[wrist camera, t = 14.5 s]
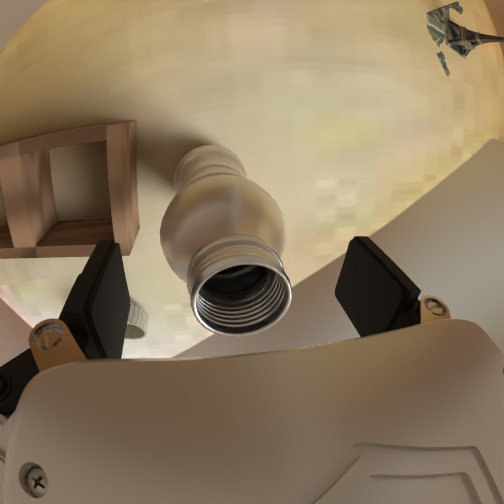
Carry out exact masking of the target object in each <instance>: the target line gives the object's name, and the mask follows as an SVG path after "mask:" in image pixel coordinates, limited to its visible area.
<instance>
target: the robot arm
mask: <svg viewBox="0 0 504 504" xmlns="http://www.w3.org/2000/svg"><path fill="white" fill-rule="evenodd" d="M420 292H421V290H420V289H419V288H418V287H417V286H416V285H415V284H414V283H413V282H412V281H411V280H410V278H409V277H408V276H407V275H406V274H405V273H404V272H403V271H402V270H401V269H400V268H399V267H398V266H397V265H396V264H395V263H394V262H393V261H392V260H391V259H390V258H389V257H388V256H387V255H386V254H385V253H384V252H383V251H382V250H381V249H380V248H379V247H378V246H377V245H376V244H375V243H374V242H373V241H372V240H371V239H370V238H369V237H367V236H355V237H354V238H353V240H351V241H350V242H349V245H348V249H347V252H346V256H345V259H344V263H343V266H342V269H341V272H340V276H339V279H338V282H337V285H336V288H335V296H336V298H337V299H338V301H339V303H340V304H341V306H342V307H343V309H344V311H345V312H346V314H347V315H348V317H349V319H350V320H351V322H352V323H353V325H354V327H355V328H356V330H357V331H358V333H359V335H360V336H361V337H360V338H355V339H349V340H344V341H338V342H333V343H327V344H321V345H315V346H308V347H301V348H294V349H287V350H278V351H269V352H260V353H251V354H239V355H226V356H211V357H191V358H141V359H121V356H122V350H123V344H124V338H125V332H126V327H127V321H128V316H129V311H130V296H129V291H128V287H127V282H126V277H125V272H124V266H123V261H122V255H121V249H120V244H119V243H115V241H114V239H101V240H99V241H98V243H97V245H96V246H95V248H94V250H93V252H92V254H91V256H90V258H89V260H88V262H87V263H86V265H85V267H84V269H83V271H82V273H81V274H79V276H78V277H77V279H76V281H75V283H74V285H73V287H72V289H71V292H70V294H69V296H68V298H67V300H66V303H65V305H64V307H63V309H62V312H61V314H60V316H59V319H47V320H44V321H42V322H40V323H39V324H37V325H36V326H35V327H34V328H33V329H32V331H31V333H30V335H29V345H30V348H29V349H27V350H26V351H24V352H23V353H21V354H20V355H18V356H17V357H15V358H13V359H12V360H10V361H9V362H7V363H6V364H4V365H3V366H1V367H0V504H504V354H503V353H502V351H501V350H500V349H499V348H498V346H497V345H496V344H495V342H493V340H492V339H491V338H490V337H489V336H488V334H487V333H486V332H485V331H484V330H483V329H482V328H481V327H480V326H479V325H477V324H476V323H474V322H471V321H467V320H462V319H451V317H450V311H449V308H448V307H447V305H446V304H445V303H444V302H443V301H441V300H440V299H438V298H436V297H433V296H428V295H427V296H424V297H422V298H421V300H420V301H419V300H418V299H417V298H418V296H419V294H420Z"/></svg>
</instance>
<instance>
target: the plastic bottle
mask: <svg viewBox="0 0 504 504" xmlns="http://www.w3.org/2000/svg"><path fill="white" fill-rule="evenodd" d="M174 185H175V190H176V193H177V194H176V195H175V197H174V198H173V199H172V201H171V202H170V204H169V206H168V208H167V210H166V212H165V214H164V217H163V219H162V223H161V229H160V241H161V246H162V249H163V253H164V255H165V257H166V260H167V262H168V263H169V265H170V267H171V269H172V270H173V271H174V272H175V274H176V275H177V276H178V277H179V278H180V279H182V280H183V281H184V282H186V283H187V288H188V291H189V294H190V299H191V307H192V310H193V313H194V316H195V317H196V319H197V320H198V322H199V323H200V324H201V325H202V326H203V327H205V328H206V329H208V330H209V331H211V332H213V333H216V334H219V335H223V336H230V337H243V336H249V335H253V334H256V333H259V332H262V331H264V330H266V329H268V328H270V327H271V326H273V325H274V324H276V323H277V322H278V321H279V320H280V319H281V318H282V317H283V316H284V314H285V313H286V311H287V310H288V308H289V306H290V303H291V299H292V288H291V284H290V281H289V278H288V276H287V275H286V273H285V271H284V267H283V264H282V261H281V259H280V258H281V255H282V253H283V250H284V244H285V226H284V219H283V216H282V212H281V210H280V208H279V206H278V205H277V203H276V201H275V200H274V199H273V198H272V197H271V196H270V194H269V193H267V192H266V191H265V190H264V189H263V188H261V187H260V186H259V185H257V184H256V183H254V182H252V181H250V180H248V179H247V176H246V171H245V168H244V165H243V163H242V161H241V160H240V158H239V157H238V156H237V155H236V154H235V153H233V152H232V151H231V150H229V149H227V148H224V147H221V146H217V145H206V146H200V147H198V148H195V149H193V150H191V151H189V152H188V153H187V154H186V155H185V156H183V157H182V159H181V160H180V161H179V163H178V165H177V167H176V169H175V174H174Z"/></svg>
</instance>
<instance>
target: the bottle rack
mask: <svg viewBox="0 0 504 504" xmlns="http://www.w3.org/2000/svg"><path fill="white" fill-rule="evenodd" d="M106 140H107V166H108V183H109V195H110V205H111V215H112V219H95V220H78V221H63V222H58V220H57V215H56V209H55V202H54V196H53V188H52V180H51V170H50V158H49V148H55V147H61V146H67V145H74V144H81V143H88V142H97V141H106ZM0 183H1V189H2V196H3V201H4V207H5V212H6V216H7V221H8V225H9V226H4V227H0V259H8V258H49V257H90V256H91V254H92V252H93V250H94V248H95V246H96V245H97V243H98V241H99V240H101V239H114V241H115V243H119V244H120V249H121V255H122V256H130V253H131V250H132V247H133V245H134V242H135V239H136V236H137V234H138V231H139V229H140V225H139V213H138V198H137V178H136V121H128V122H117V123H107V124H99V125H91V126H84V127H78V128H71V129H66V130H60V131H55V132H50V133H45V134H40V135H36V136H31V137H27V138H23V139H19V140H16V141H12V142H8V143H5V144H1V145H0Z"/></svg>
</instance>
